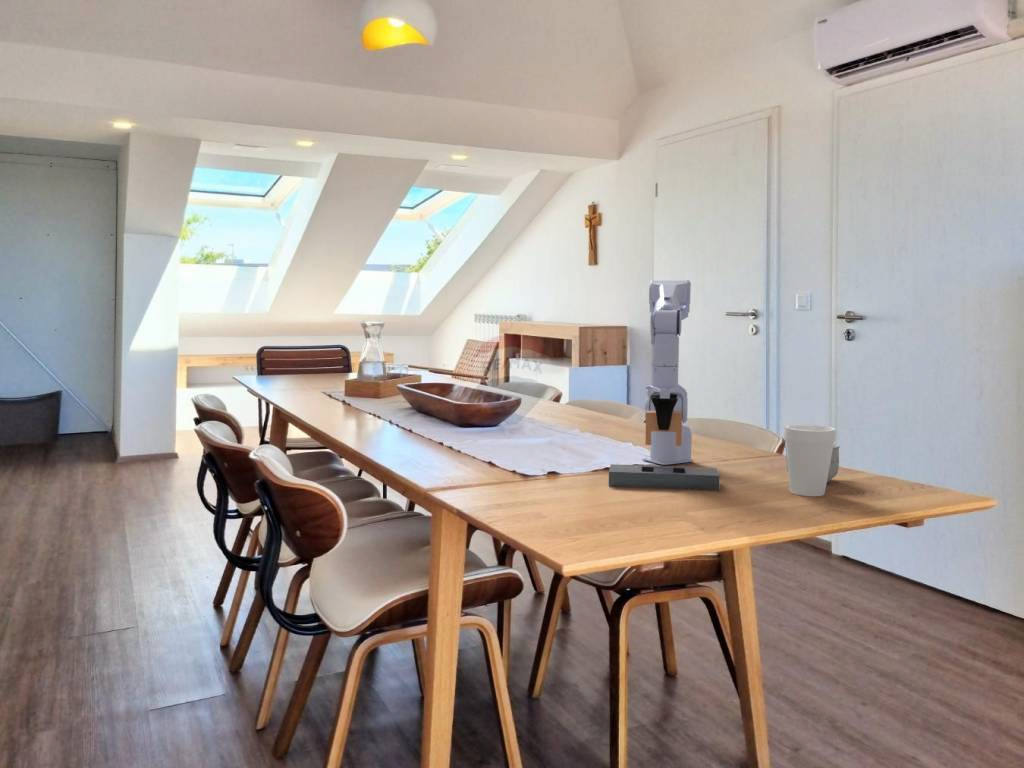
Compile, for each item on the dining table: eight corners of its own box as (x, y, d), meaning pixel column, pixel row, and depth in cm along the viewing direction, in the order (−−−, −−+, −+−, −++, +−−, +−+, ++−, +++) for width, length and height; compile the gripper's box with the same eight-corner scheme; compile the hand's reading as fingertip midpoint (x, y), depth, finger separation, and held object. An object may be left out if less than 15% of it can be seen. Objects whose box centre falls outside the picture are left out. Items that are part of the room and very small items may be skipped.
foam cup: (827, 500, 156) (829, 432, 155) (777, 494, 161) (779, 428, 160) (836, 490, 164) (839, 426, 163) (789, 485, 169) (791, 423, 168)
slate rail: (716, 482, 172) (716, 468, 171) (719, 490, 164) (719, 475, 164) (610, 478, 175) (610, 464, 175) (608, 486, 168) (608, 471, 167)
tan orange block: (680, 443, 179) (681, 411, 178) (681, 446, 175) (682, 413, 175) (645, 441, 180) (646, 410, 180) (645, 444, 176) (646, 412, 176)
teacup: (812, 488, 166) (814, 449, 165) (772, 478, 176) (774, 441, 175) (859, 482, 172) (861, 444, 172) (819, 473, 182) (820, 437, 181)
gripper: (646, 363, 184) (645, 423, 185) (645, 367, 170) (644, 432, 171) (678, 363, 183) (676, 423, 184) (680, 368, 169) (678, 433, 170)
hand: (663, 428), depth 177 cm, fingers closed on tan orange block, 4 cm apart
